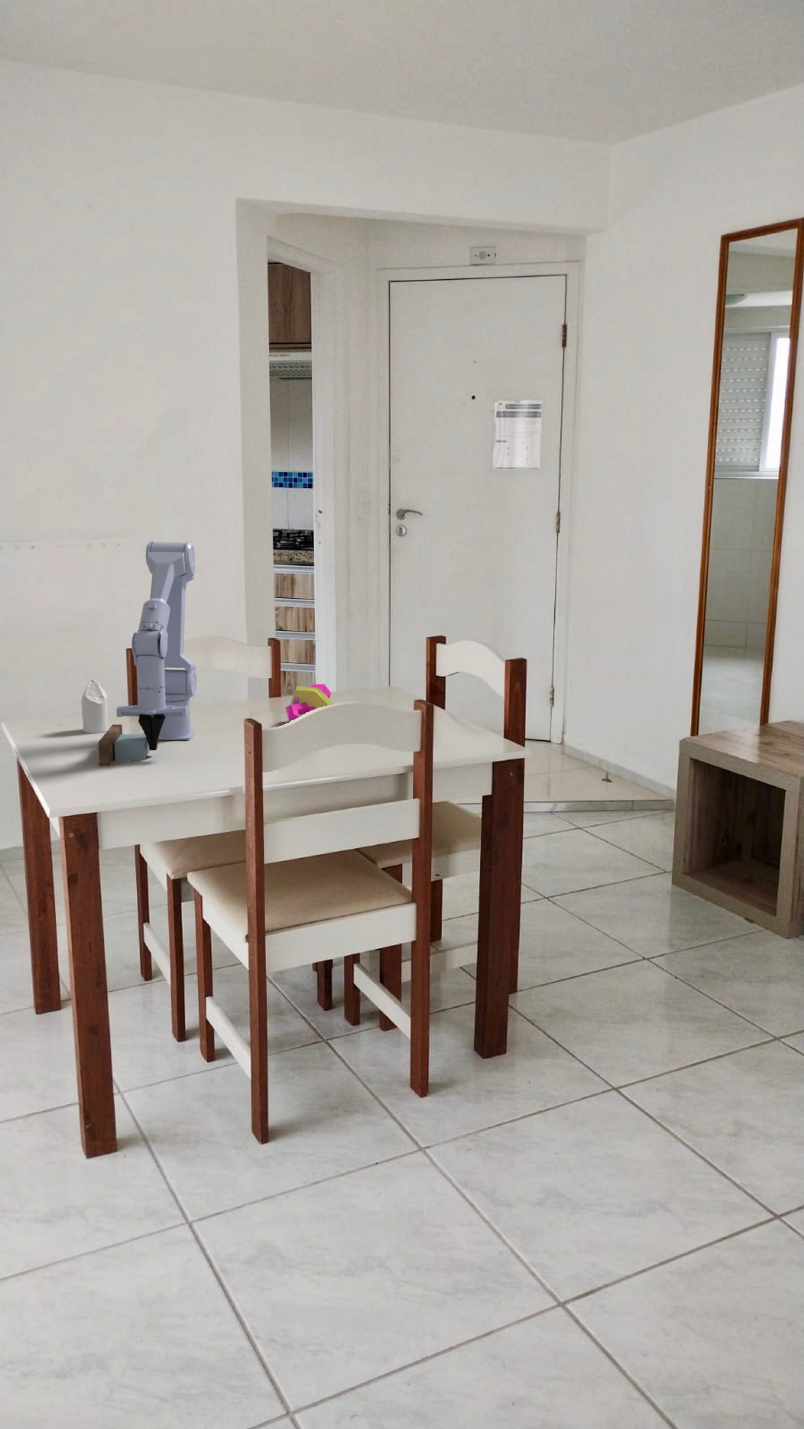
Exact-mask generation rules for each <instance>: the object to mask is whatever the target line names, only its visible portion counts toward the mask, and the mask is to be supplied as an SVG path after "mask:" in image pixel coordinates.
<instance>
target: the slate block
mask: <svg viewBox="0 0 804 1429" xmlns="http://www.w3.org/2000/svg"><path fill="white" fill-rule="evenodd" d="M149 751H150V752H151V750H149V745H148V741H147V738H146V736H145V733H144V734H143V733H142V734H140V733H137V734H136V733H134V734H133V733H131V734H130V733H122V734H121V735H120V737H119V738H118V739H117V741H116V742H115V758H114V761H116V762H120V761H122V762H127V761H126V760H144V759H145V758H146V759H147V757H148V755H149V754H148V753H150V752H149ZM147 754H148V755H147ZM146 756H147V757H146ZM146 759H145V760H146ZM124 760H125V761H124ZM145 760H144V761H145Z"/></svg>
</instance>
